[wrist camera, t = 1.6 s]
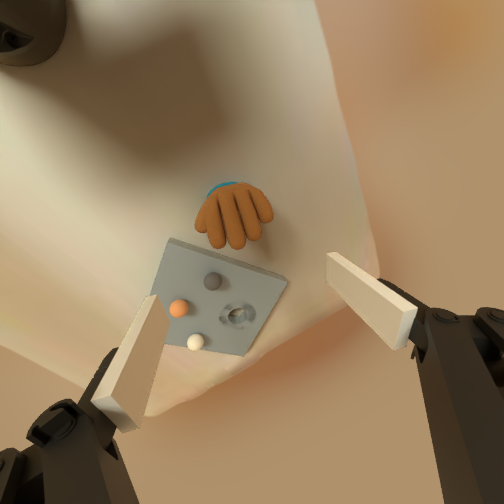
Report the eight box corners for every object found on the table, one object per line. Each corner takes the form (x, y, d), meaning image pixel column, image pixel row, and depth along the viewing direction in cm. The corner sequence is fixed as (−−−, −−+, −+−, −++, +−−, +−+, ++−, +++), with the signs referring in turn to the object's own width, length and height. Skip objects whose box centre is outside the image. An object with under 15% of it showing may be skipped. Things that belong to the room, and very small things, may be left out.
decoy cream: (186, 339, 42) (183, 353, 39) (191, 328, 41) (189, 341, 38) (201, 342, 44) (199, 355, 40) (206, 331, 43) (205, 344, 39)
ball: (169, 307, 38) (165, 319, 35) (174, 293, 37) (170, 305, 34) (186, 311, 39) (183, 323, 36) (191, 298, 38) (189, 309, 35)
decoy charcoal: (201, 281, 37) (200, 291, 34) (207, 266, 36) (206, 276, 33) (218, 285, 38) (218, 296, 35) (224, 272, 37) (225, 281, 34)
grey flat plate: (139, 330, 42) (135, 339, 40) (170, 237, 35) (167, 242, 33) (242, 348, 50) (243, 356, 48) (284, 276, 43) (288, 282, 41)
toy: (198, 228, 35) (188, 264, 22) (186, 191, 32) (165, 206, 19) (259, 214, 36) (285, 240, 23) (252, 177, 33) (278, 182, 20)
